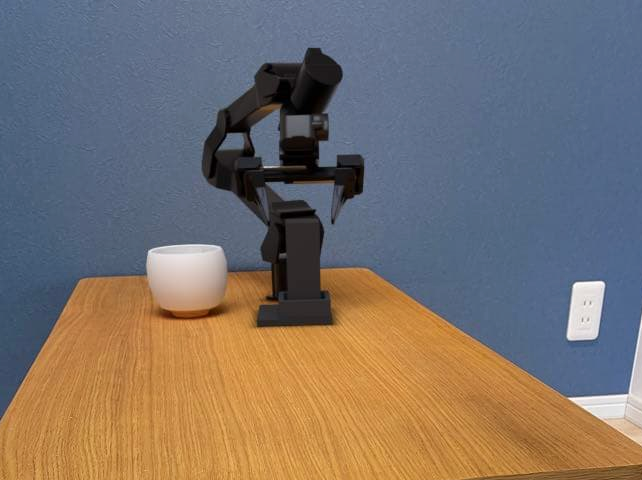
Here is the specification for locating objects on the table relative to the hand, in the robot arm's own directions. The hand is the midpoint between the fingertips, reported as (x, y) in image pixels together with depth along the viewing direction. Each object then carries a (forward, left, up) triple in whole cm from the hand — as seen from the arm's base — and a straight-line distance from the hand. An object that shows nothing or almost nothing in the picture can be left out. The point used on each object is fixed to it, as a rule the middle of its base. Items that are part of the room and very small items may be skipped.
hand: (300, 223), depth 122 cm
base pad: (-2, 0, -14) cm, 14 cm away
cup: (-17, -6, -14) cm, 23 cm away
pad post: (0, 0, -13) cm, 13 cm away
